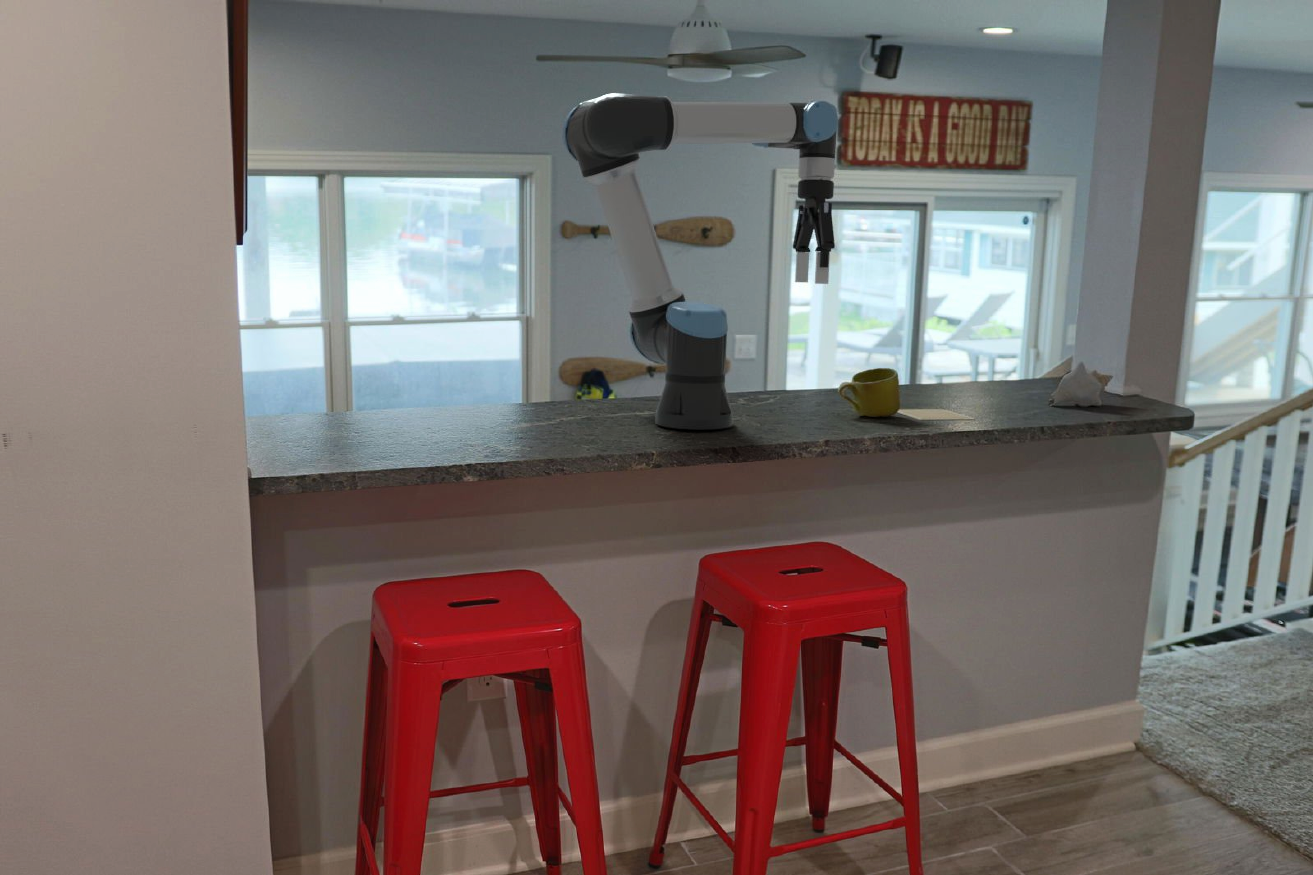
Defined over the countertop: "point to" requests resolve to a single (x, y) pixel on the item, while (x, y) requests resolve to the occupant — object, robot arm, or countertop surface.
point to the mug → (873, 392)
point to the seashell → (1081, 387)
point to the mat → (934, 414)
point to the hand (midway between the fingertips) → (811, 283)
